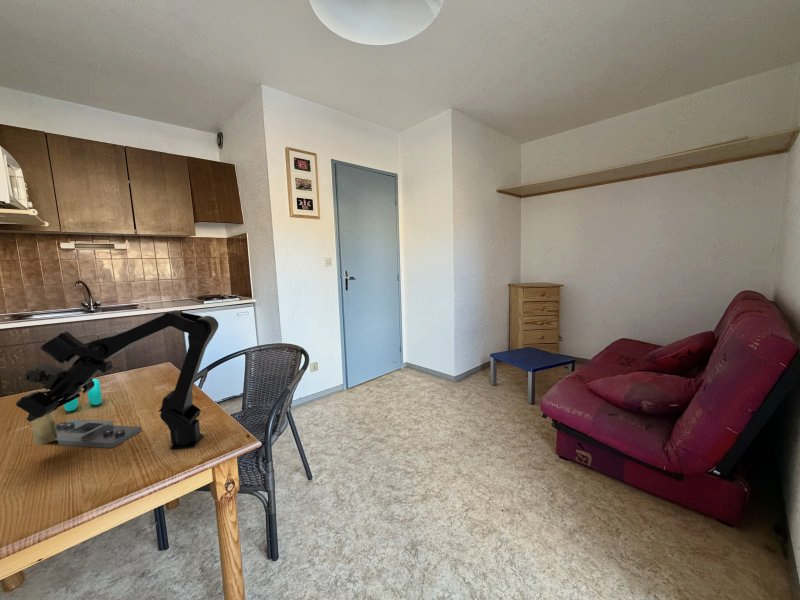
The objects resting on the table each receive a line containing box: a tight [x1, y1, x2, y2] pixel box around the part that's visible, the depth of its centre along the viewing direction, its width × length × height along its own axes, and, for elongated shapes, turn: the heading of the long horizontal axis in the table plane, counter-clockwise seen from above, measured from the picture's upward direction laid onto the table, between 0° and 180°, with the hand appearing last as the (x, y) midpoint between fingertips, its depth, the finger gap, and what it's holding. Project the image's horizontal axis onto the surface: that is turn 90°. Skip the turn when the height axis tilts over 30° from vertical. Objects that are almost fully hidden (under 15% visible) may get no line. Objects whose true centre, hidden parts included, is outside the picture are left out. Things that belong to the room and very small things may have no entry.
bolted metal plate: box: [54, 418, 142, 449], centre depth 99 cm, size 24×10×4 cm, turn 84°
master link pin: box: [26, 388, 57, 445], centre depth 86 cm, size 4×4×14 cm
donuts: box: [63, 378, 103, 412], centre depth 120 cm, size 10×10×10 cm
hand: (36, 416), depth 86 cm, fingers closed on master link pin, 4 cm apart
